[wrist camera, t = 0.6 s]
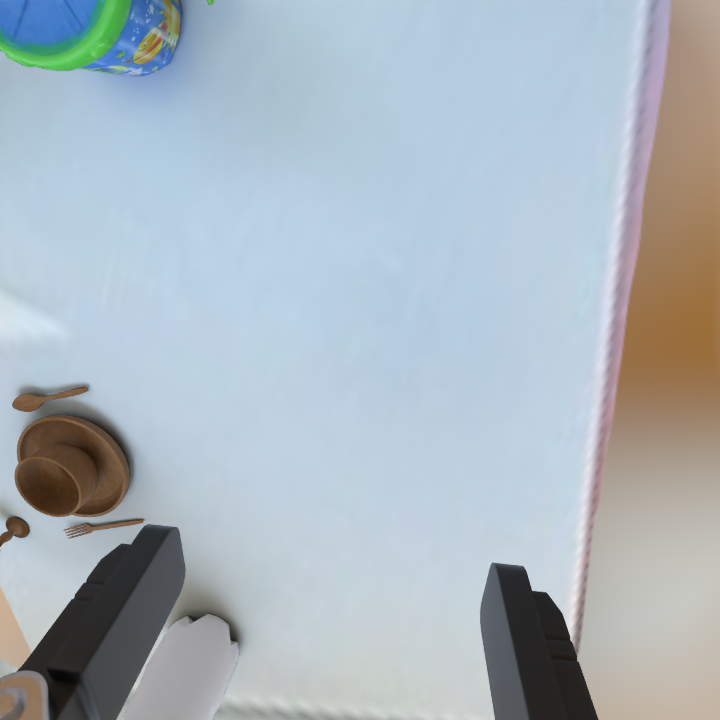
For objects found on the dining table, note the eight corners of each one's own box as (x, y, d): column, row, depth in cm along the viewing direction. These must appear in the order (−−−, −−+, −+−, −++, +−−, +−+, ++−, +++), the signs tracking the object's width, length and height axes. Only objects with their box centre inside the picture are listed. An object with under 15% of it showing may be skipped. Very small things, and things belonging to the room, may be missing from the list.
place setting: (163, 522, 49) (130, 564, 44) (16, 541, 54) (-30, 581, 48) (96, 377, 44) (49, 403, 39) (-62, 410, 48) (-124, 438, 43)
